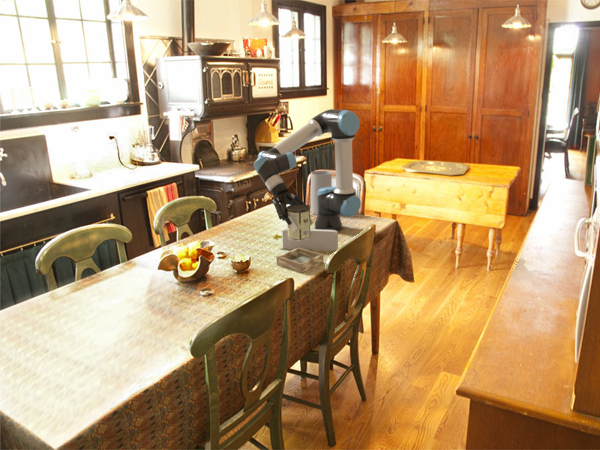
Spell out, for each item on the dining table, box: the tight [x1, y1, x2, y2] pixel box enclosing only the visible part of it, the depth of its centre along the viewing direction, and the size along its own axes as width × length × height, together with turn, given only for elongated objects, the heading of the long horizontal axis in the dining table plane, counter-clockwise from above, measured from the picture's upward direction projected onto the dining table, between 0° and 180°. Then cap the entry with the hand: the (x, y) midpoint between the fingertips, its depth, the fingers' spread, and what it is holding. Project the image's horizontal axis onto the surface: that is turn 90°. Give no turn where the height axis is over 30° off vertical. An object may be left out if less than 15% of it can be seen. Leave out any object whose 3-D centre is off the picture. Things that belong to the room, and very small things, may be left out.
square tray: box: [275, 248, 324, 274], centre depth 220 cm, size 15×15×4 cm
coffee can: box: [287, 204, 311, 241], centre depth 215 cm, size 10×10×14 cm
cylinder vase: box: [310, 170, 333, 216], centre depth 296 cm, size 12×12×25 cm
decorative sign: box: [272, 227, 339, 252], centre depth 239 cm, size 32×4×10 cm, turn 79°
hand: (304, 227), depth 213 cm, fingers closed on coffee can, 10 cm apart
